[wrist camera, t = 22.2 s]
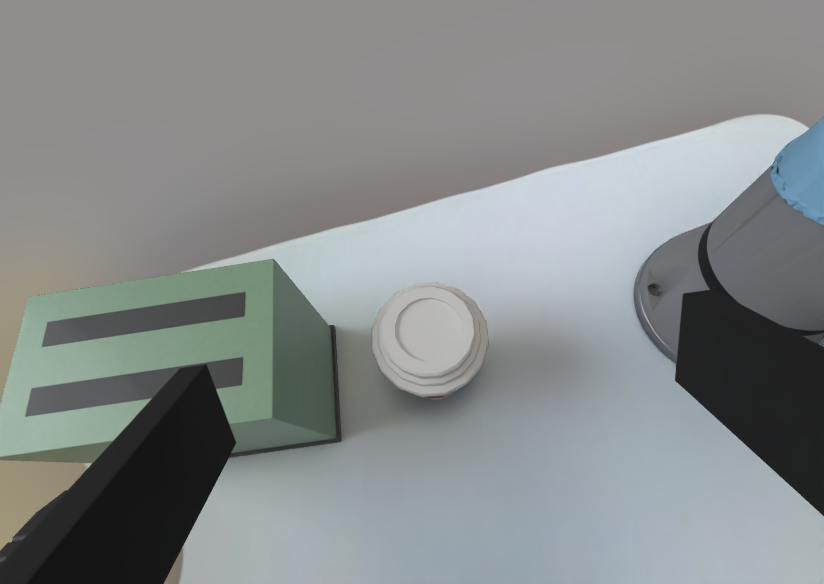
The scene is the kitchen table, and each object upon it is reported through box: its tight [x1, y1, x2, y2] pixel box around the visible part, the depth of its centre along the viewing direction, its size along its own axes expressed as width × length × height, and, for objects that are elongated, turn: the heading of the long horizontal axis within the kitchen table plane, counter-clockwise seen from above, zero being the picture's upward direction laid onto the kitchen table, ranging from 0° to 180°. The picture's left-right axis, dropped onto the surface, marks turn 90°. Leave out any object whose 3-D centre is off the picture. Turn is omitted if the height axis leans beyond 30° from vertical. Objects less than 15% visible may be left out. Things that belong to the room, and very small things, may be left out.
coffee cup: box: [372, 283, 489, 400], centre depth 36 cm, size 9×9×12 cm
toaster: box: [0, 259, 341, 463], centre depth 35 cm, size 20×12×16 cm, turn 97°
